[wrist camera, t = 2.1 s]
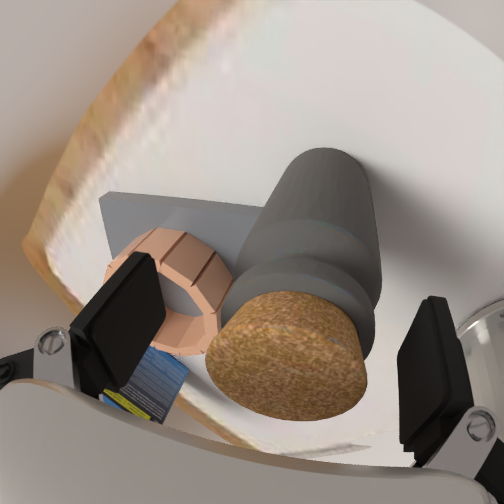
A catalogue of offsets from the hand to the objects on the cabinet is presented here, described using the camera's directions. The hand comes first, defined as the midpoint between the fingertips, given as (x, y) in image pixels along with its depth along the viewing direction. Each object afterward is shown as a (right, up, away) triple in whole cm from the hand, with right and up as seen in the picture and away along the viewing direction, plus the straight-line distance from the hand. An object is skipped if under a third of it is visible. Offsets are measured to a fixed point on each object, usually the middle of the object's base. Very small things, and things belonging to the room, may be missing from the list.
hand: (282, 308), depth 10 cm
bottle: (+4, +6, +10) cm, 12 cm away
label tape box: (-13, -10, +26) cm, 31 cm away
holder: (-7, 0, +17) cm, 19 cm away
